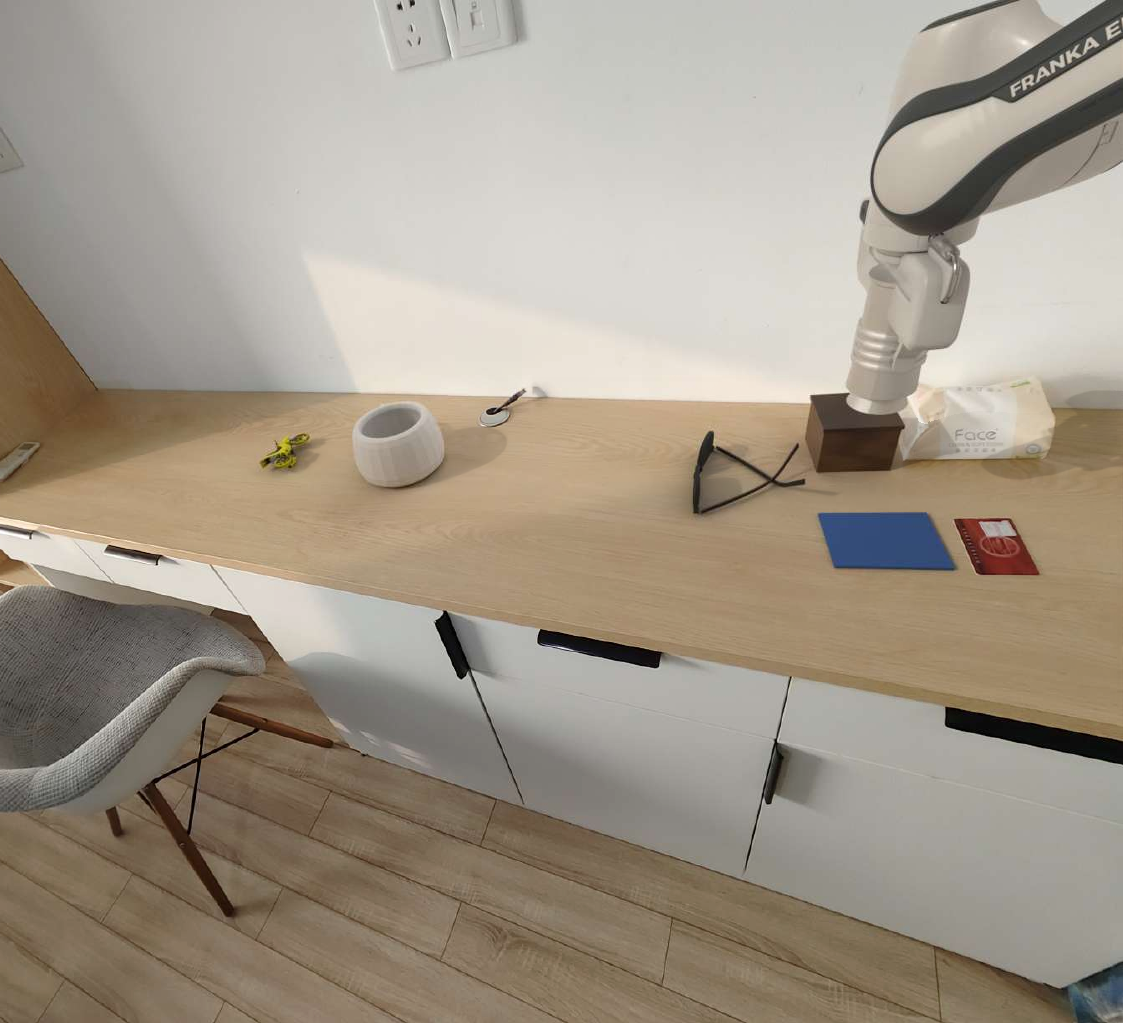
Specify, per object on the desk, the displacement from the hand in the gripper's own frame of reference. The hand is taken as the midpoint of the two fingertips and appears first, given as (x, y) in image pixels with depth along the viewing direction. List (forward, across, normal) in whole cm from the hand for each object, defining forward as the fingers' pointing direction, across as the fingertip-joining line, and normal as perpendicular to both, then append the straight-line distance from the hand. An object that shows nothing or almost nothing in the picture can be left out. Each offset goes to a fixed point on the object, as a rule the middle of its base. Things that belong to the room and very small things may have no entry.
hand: (888, 351), depth 67 cm
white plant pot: (+23, +17, +70) cm, 75 cm away
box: (+23, +13, -2) cm, 27 cm away
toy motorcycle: (+23, +19, +96) cm, 100 cm away
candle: (+6, 0, 0) cm, 6 cm away
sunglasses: (+23, +6, +12) cm, 27 cm away
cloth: (+23, -6, -2) cm, 24 cm away
